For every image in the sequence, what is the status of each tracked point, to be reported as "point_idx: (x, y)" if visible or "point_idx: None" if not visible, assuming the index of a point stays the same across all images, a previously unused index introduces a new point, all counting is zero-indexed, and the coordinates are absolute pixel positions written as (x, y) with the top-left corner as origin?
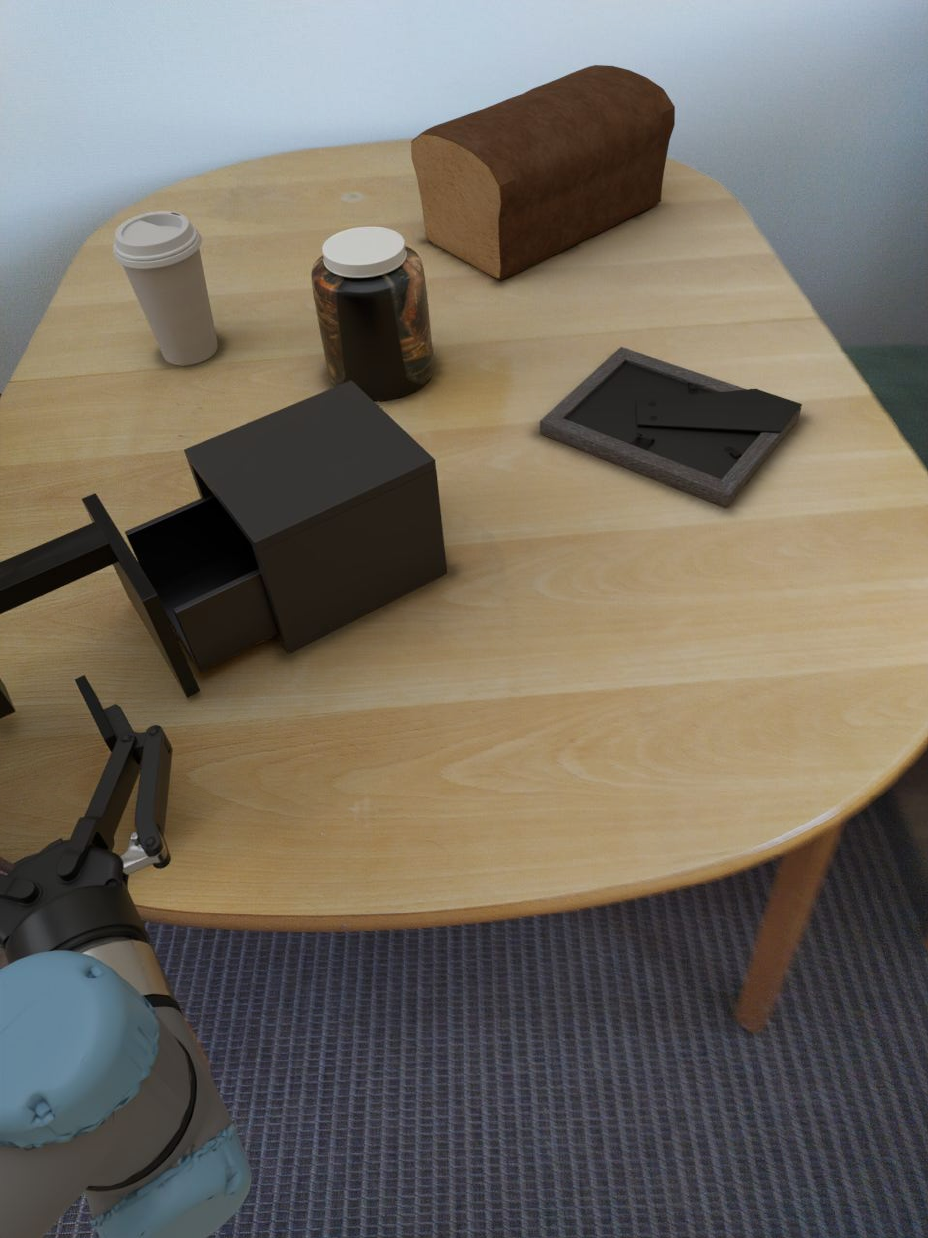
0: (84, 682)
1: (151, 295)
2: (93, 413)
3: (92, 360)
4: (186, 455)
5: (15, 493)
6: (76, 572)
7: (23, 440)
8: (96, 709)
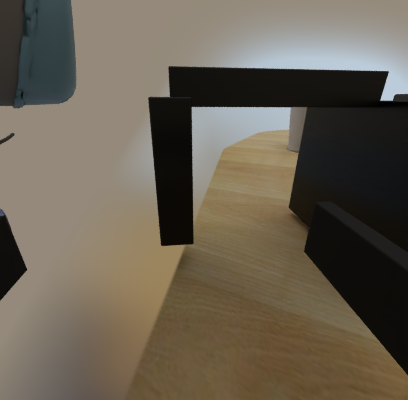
0: (335, 208)
1: (301, 113)
2: (257, 155)
3: (257, 146)
4: (396, 98)
5: (219, 165)
6: (336, 95)
7: (226, 155)
8: (394, 251)
